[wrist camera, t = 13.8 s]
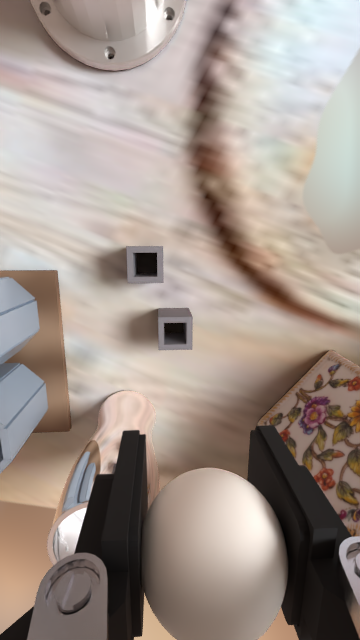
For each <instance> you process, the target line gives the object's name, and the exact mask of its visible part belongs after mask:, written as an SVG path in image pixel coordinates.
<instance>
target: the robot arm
mask: <svg viewBox="0 0 360 640" xmlns="http://www.w3.org/2000/svg"><path fill="white" fill-rule="evenodd" d="M186 1H187V0H30V2H31V4H32V6H33V8H34V10H35V12H36V14H37V16H38V18H39V20H40V22H41V23H42V25H43V26H44V28H45V30H46V31H47V33H48V34H49V35H50V37H51V38H52V39H53V40H54V41H55V42H56V43H57V45H58V46H59V47H60V48H62V49H63V50H64V51H65V52H67V53H68V54H69V55H70V56H71V57H73V58H75V59H76V60H78V61H80V62H82V63H84V64H86V65H88V66H92V67H95V68H98V69H102V70H114V71H117V70H125V69H131V68H133V67H136V66H139V65H142V64H144V63H146V62H147V61H149V60H150V59H152V58H153V57H155V56H156V55H157V54H158V53H159V52H160V51H161V50H162V49H163V48H164V47H165V46H166V45H167V44H168V43H169V41H170V40H171V38H172V37H173V35H174V34H175V32H176V30H177V28H178V26H179V23H180V21H181V19H182V17H183V13H184V9H185V5H186ZM47 14H49V15H47ZM167 19H171V21H169V20H167ZM111 56H112V57H114V58H113V59H109V57H111ZM248 482H250V483H251V484H252V485H253V486H254V487H255V488H256V489H257V490H258V491H259V492H260V493H261V494H262V495H263V496H264V497H265V499H266V500H267V501H268V503H269V504H270V505H271V507H272V509H273V511H274V512H275V514H276V516H277V518H278V520H279V522H280V525H281V528H282V531H283V534H284V538H285V542H286V547H287V555H288V580H287V587H286V591H285V596H284V599H283V602H282V605H281V608H282V611H283V614H284V616H285V619H286V621H287V623H288V625H294V627H295V630H296V632H297V635H298V638H299V640H360V536H357V537H352V535H351V534H350V532H349V531H348V529H347V528H346V526H345V525H344V523H343V522H342V520H341V519H340V517H339V516H338V514H337V513H336V511H335V509H334V508H333V506H332V505H331V503H330V502H329V500H328V499H327V497H326V496H325V494H324V493H323V491H322V490H321V488H320V487H319V485H318V484H317V482H316V480H315V479H314V477H313V476H312V474H311V473H310V471H309V470H308V469H307V467H306V466H304V465H298V463H297V461H296V460H295V458H294V457H293V455H292V453H291V452H290V450H289V449H288V447H287V445H286V444H285V442H284V441H283V439H282V437H281V436H280V434H279V433H278V431H277V429H276V428H275V426H274V425H264V426H256V430H252V431H251V434H250V449H249V465H248ZM147 511H148V489H147V455H146V434H140V431H139V430H126V431H123V433H122V438H121V443H120V448H119V453H118V458H117V463H116V468H115V473H114V474H97V475H96V477H95V480H94V484H93V487H92V491H91V494H90V498H89V502H88V505H87V509H86V513H85V516H84V520H83V523H82V527H81V531H80V534H79V538H78V541H77V545H76V549H75V552H74V554H73V555H70V556H67V557H65V558H63V559H62V560H60V561H58V562H57V563H56V564H55V565H54V566H53V567H52V568H51V569H50V570H49V571H48V572H47V573H46V575H45V576H44V578H43V579H42V581H41V583H40V586H39V589H38V592H37V596H36V601H35V605H34V607H32V608H31V609H30V610H29V611H28V612H26V613H25V614H24V615H23V616H22V617H21V618H19V619H18V620H17V621H16V622H15V623H13V624H12V625H11V626H10V627H9V628H8V629H6V630H5V631H4V632H3V633H2V634H1V635H0V640H134V637H140V636H142V629H143V605H144V589H143V586H142V582H141V538H142V525H143V522H144V519H145V516H146V514H147Z"/></svg>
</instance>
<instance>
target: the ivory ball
mask: <svg viewBox="0 0 360 640" xmlns="http://www.w3.org/2000/svg"><path fill="white" fill-rule="evenodd" d="M287 580H288V555H287V547H286V542H285V538H284V534H283V531H282V528H281V525H280V522H279V520H278V518H277V516H276V514H275V512H274V511H273V509H272V507H271V505H270V504H269V503H268V501H267V500H266V499H265V497H264V496H263V495H262V494H261V493H260V492H259V491H258V490H257V489H256V488H255V487H254V486H253V485H252V484H251V483H250V482H248V481H247V480H245V479H244V478H242V477H241V476H239V475H237V474H235V473H232V472H229V471H227V470H223V469H218V468H199V469H195V470H191V471H188V472H185V473H183V474H181V475H179V476H177V477H176V478H174V479H173V480H172V481H170V482H169V483H168V484H167V485H166V486H165V487H164V488H163V489H162V490H161V491H160V492H159V493H158V495H157V496H156V498H155V499H154V500H153V502H152V504H151V505H150V507H149V509H148V511H147V514H146V516H145V519H144V522H143V525H142V538H141V582H142V586H143V589H144V593H145V596H146V598H147V600H148V603H149V605H150V607H151V609H152V611H153V613H154V614H155V616H156V617H157V619H158V620H159V622H160V623H161V624H162V626H163V627H164V628H165V629H166V630H167V631H168V632H169V633H170V634H171V635H172V636H173V637H174V638H175V639H177V640H258V639H259V638H260V637H261V636H262V635H263V634H264V633H265V632H266V631H267V630H268V628H269V627H270V626H271V624H272V623H273V621H274V620H275V618H276V616H277V614H278V612H279V610H280V607H281V605H282V602H283V599H284V596H285V591H286V587H287Z"/></svg>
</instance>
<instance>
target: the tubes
mask: <svg viewBox="0 0 360 640" xmlns="http://www.w3.org/2000/svg"><path fill="white" fill-rule="evenodd" d="M34 299H35V297H33V296H32V295H31V294H30V293H29V292H28V291H26V290H25V289H24V288H23V287H22V286H21V285H19V284H18V283H17V282H16V281H15V280H14V279H13V278H9V277H0V473H1V472H2V471H3V470H4V469H5V468H6V467H7V466H8V465H9V464H10V463H11V462H12V460H13V459H14V458H15V456H16V455H17V453H18V452H19V450H20V449H21V447H22V446H23V445H24V443H25V442H26V440H27V439H28V437H29V436H30V435H31V433H32V432H33V430H34V429H35V427H36V426H37V424H38V423H39V422H40V420H41V419H42V417H43V416H44V414H45V413H46V412H47V409H48V402H47V393H46V383H44V381H43V380H42V379H41V378H40V377H38V376H37V375H36V374H35V373H33V372H32V371H31V370H30V369H28V368H27V367H26V366H25V365H23V364H21V365H20V363H4V362H5V361H7V360H8V359H10V358H11V357H12V356H14V355H15V354H16V353H18V352H19V351H20V350H21V349H22V348H23V347H24V346H25V345H26V344H27V343H28V342H29V341H30V340H31V339H32V338H33V337H34V335H35V334H36V333H37V332H38V331H39V330H38V329H40V327H39V318H38V309H37V300H34Z"/></svg>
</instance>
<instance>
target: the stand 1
mask: <svg viewBox="0 0 360 640" xmlns="http://www.w3.org/2000/svg"><path fill="white" fill-rule="evenodd" d="M126 250H127V276H128V283H163V246H126ZM136 253H157V273H137V255H136Z"/></svg>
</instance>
